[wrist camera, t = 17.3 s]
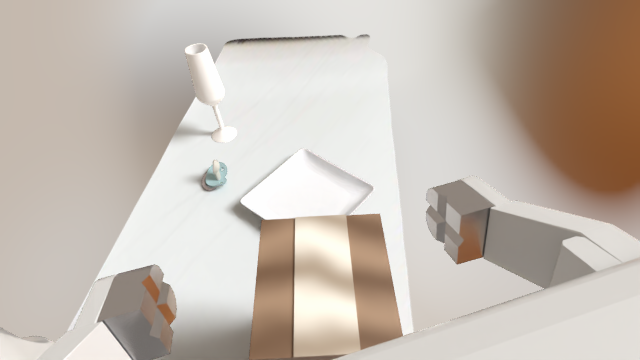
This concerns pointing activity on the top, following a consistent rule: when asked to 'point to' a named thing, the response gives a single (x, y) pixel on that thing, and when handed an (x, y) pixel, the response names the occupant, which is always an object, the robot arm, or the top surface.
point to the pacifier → (214, 176)
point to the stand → (322, 288)
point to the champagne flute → (208, 86)
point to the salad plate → (307, 190)
